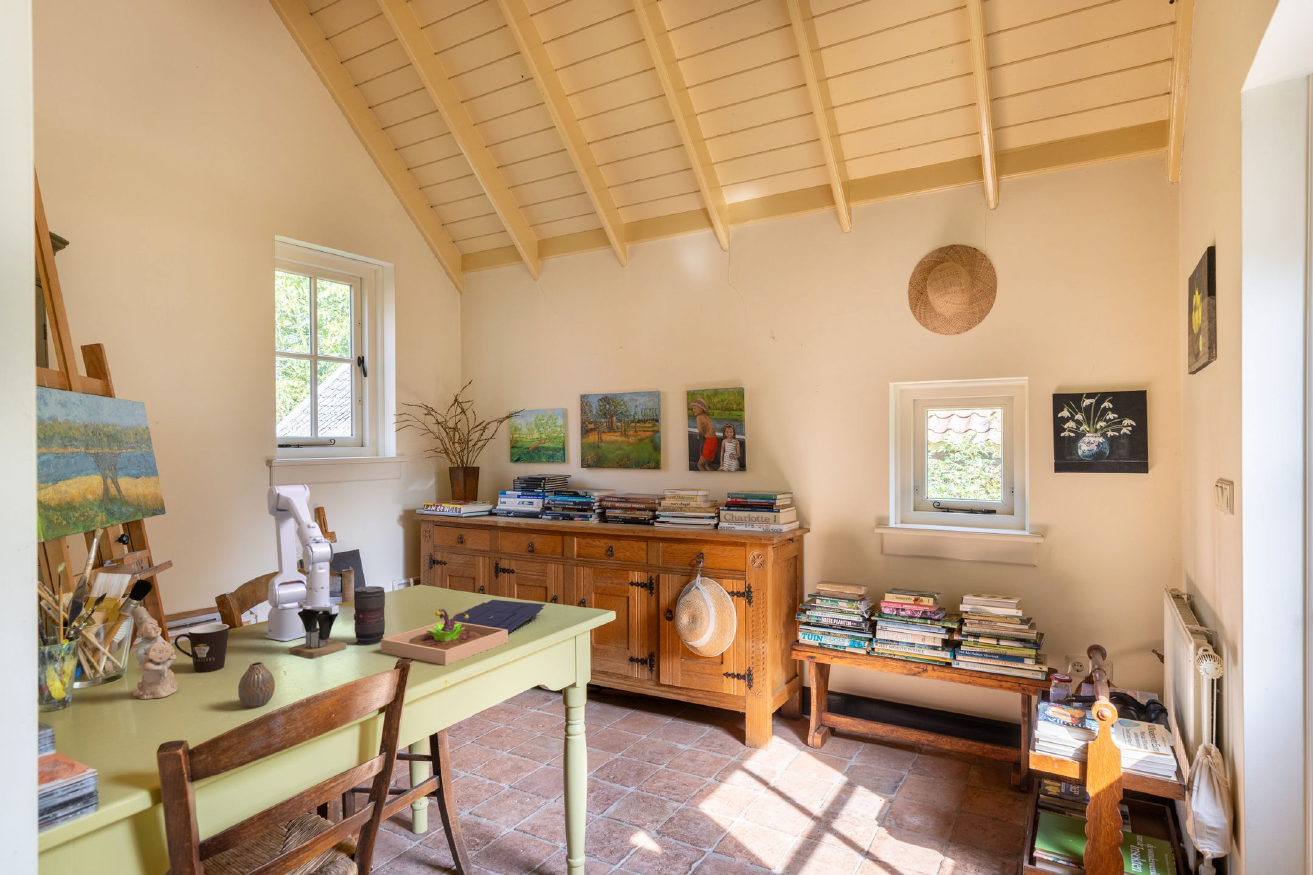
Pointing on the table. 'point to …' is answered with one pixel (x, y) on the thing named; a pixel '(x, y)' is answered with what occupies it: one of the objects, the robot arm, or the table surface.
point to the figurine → (153, 658)
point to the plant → (446, 634)
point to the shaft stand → (317, 649)
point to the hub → (314, 638)
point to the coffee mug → (207, 647)
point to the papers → (500, 614)
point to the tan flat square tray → (403, 648)
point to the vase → (256, 686)
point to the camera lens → (369, 614)
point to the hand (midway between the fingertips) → (317, 637)
